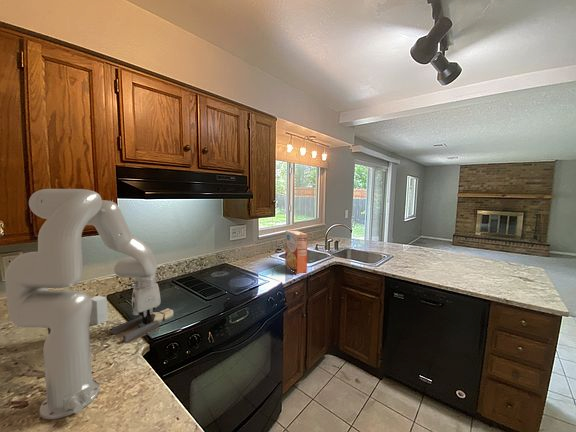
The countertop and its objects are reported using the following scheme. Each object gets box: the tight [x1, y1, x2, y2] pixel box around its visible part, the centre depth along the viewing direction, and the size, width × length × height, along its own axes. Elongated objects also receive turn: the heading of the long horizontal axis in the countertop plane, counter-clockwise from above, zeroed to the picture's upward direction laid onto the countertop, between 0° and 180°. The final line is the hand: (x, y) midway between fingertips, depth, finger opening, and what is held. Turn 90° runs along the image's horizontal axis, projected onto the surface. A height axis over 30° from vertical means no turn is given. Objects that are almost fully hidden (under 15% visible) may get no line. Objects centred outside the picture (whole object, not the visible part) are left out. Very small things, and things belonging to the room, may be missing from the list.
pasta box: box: [284, 229, 308, 275], centre depth 190 cm, size 23×8×30 cm, turn 22°
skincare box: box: [89, 295, 109, 326], centre depth 109 cm, size 6×4×12 cm
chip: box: [151, 311, 164, 323], centre depth 109 cm, size 4×4×4 cm
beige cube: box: [159, 308, 174, 321], centre depth 113 cm, size 4×4×4 cm
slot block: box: [111, 315, 161, 345], centre depth 102 cm, size 13×13×4 cm
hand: (147, 323), depth 106 cm, fingers closed
